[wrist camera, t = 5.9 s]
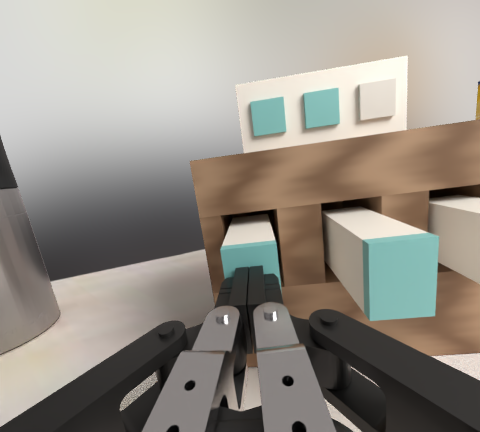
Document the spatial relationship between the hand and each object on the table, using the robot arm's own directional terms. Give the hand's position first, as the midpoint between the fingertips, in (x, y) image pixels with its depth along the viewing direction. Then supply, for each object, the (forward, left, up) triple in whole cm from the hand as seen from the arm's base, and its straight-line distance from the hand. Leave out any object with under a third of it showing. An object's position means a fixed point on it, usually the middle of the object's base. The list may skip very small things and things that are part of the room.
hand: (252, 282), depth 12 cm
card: (+3, +12, +7) cm, 14 cm away
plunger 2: (+6, +5, -2) cm, 8 cm away
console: (+3, +11, -10) cm, 15 cm away
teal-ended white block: (-1, +4, -2) cm, 4 cm away
